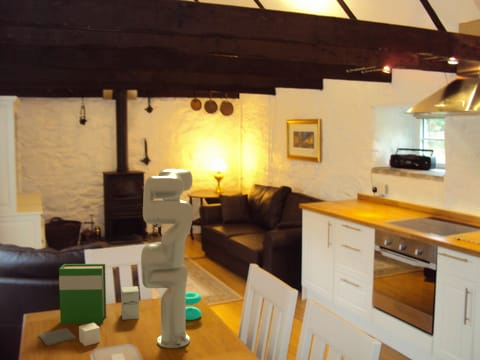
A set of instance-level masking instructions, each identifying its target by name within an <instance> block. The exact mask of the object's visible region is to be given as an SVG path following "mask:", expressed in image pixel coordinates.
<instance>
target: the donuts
mask: <svg viewBox="0 0 480 360" xmlns="http://www.w3.org/2000/svg"><path fill="white" fill-rule="evenodd" d="M201 301H202V295H201V294H200V293H198V292H195V291H194V292H193V291H186V303H185V309H186V321H195V320H197V319H199V318H200V317H201V316H202V310H201V309H200V308H198V307H195V306H194V305H197V304H199V303H200V302H201Z"/></svg>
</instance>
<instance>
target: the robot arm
mask: <svg viewBox="0 0 480 360" xmlns="http://www.w3.org/2000/svg"><path fill="white" fill-rule="evenodd" d="M192 186H193V175H192V173H191V171H190V170H188V169H177V168H165V169H163V170H161V171H160V172H159V173H158V174H157V175H156V176H155V175H151V176H148V177H147V178H146V180H145V182H144V187H143V198H142V199H143V200H142V201H143V203H142V205H143V206H142V216H143V221H144V222H145V223H146V224H148V225H154V226H156V227H157V234H158V235H159V237H161V236H162V237H161V243H149V244H146V245H145V246H143V248H142V250H141V255H140V266H141V268H140V270H141V272H140V273H141V282H142V284H143V285H142V286H144V288H145V289H166V290H164V292H163V293H162V295H161V298H160V332H161V333H160V336H158V337H157V340H156V341H157V343H156V344H157V345H158V346H160V347H162V348H167V349H179V348H182V347H185V346H187V345H188V344H189V343H190V340H191V339H190V336H189V335H188V334H187V331H186V327H187V326H186V325H187V324H186V323H187V322H186V321H187V320H186V309H185V307H186V305H185V303H186V292H187V283H188V276H189V274H188V267H187V265H186V264H184V262H185V255H186V254H185V252H186V239H187V237H188V235H189V232H190V231H191V228H192V224H193V219H194V209H193V205H192V204H191V203H190V202H189V201H185V200H182V199H181V198H180V197H181V196H182V195H183V193H184V192H187V191H189V190H190V189H191V188H192ZM156 199H157V200H156ZM162 225H171V226H170V227H169V228H168V229H167V230H166V231H165V232H164V233H163V235H162Z"/></svg>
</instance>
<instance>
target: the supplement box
mask: <svg viewBox="0 0 480 360" xmlns="http://www.w3.org/2000/svg"><path fill="white" fill-rule="evenodd" d="M120 289H121V290H120V292H121V301H120V303H121V320H123V321H124V320H133V319H134V320H135V319H140V291H139V286H138V285H137V286H136V285H134V286H124V287H123V286H122V287H121V288H120Z"/></svg>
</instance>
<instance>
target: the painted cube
mask: <svg viewBox="0 0 480 360" xmlns="http://www.w3.org/2000/svg"><path fill="white" fill-rule="evenodd" d="M78 336H79V337H78V338H79V342H80V343H81V344H82V345H83V346H85V347H87V346H90V345H94V344H98V343H100V342H101V329H100V326H98V325H97V323H90V324H82V325H79V326H78Z"/></svg>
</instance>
